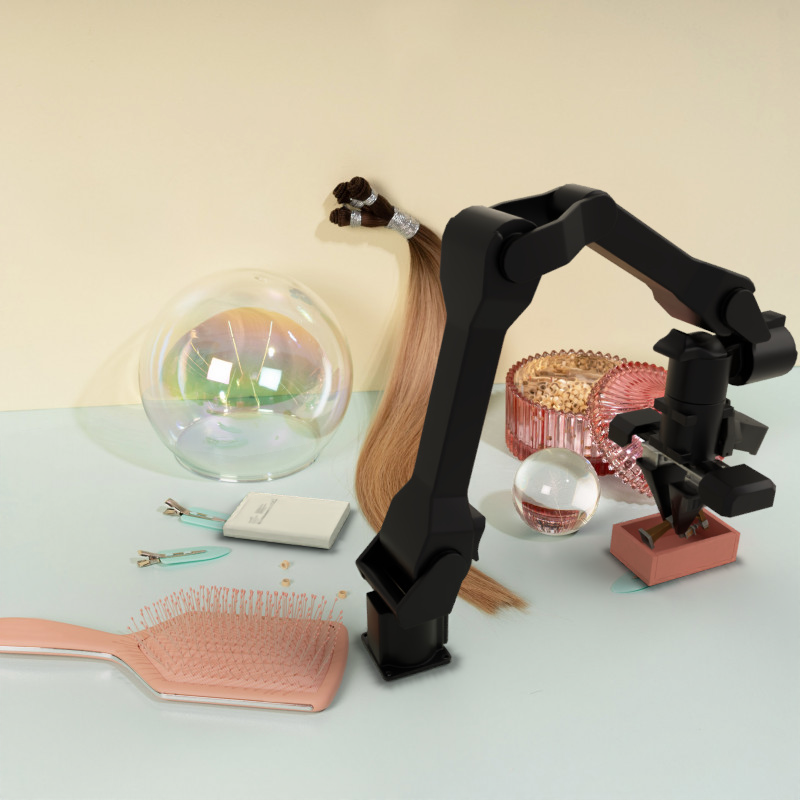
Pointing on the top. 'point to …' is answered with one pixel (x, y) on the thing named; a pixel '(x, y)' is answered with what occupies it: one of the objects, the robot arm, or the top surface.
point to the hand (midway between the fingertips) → (675, 529)
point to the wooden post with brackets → (657, 531)
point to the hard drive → (288, 519)
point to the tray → (673, 548)
